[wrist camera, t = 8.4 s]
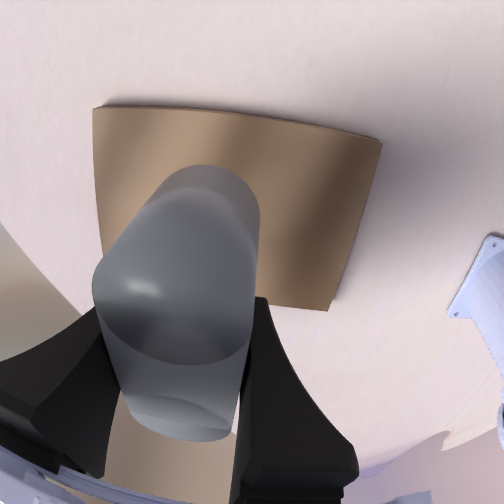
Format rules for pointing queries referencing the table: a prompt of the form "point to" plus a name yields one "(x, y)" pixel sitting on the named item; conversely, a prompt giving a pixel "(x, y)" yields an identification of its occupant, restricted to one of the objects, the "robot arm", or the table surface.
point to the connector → (183, 302)
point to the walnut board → (255, 176)
